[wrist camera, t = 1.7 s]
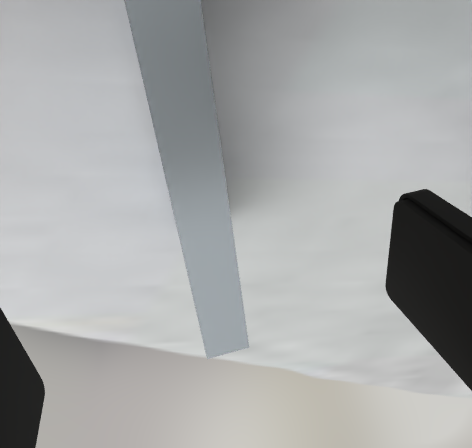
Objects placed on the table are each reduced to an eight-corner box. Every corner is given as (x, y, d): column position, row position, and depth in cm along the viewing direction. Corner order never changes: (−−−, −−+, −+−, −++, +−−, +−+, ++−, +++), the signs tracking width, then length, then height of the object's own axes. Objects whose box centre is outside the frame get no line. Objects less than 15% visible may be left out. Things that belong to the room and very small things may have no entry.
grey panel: (102, -103, 18) (81, -189, 9) (147, -108, 18) (173, -196, 9) (179, 232, 27) (207, 358, 18) (207, 226, 28) (249, 347, 19)
